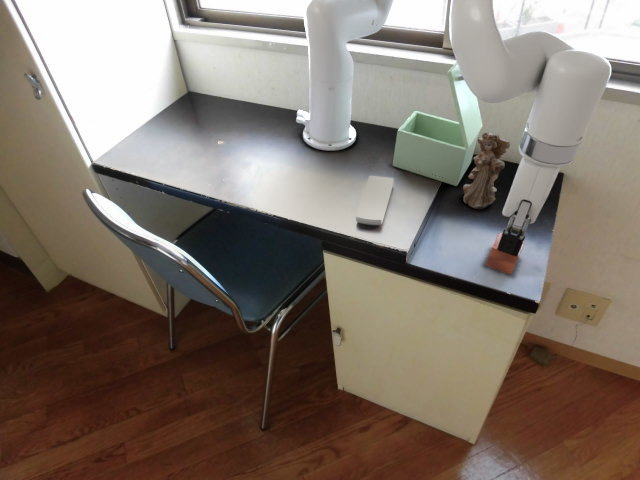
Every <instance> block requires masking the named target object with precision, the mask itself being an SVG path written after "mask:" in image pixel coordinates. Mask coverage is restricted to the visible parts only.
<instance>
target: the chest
mask: <svg viewBox="0 0 640 480" xmlns="http://www.w3.org/2000/svg"><path fill="white" fill-rule="evenodd" d="M479 134H480V131H479V132H478V134H477V136H476V137H475V139H474V140H473V142H472V144H471V145H470V147H469V148H465V147H464V143H463V138H462V134H461V130H460V125H459V121H455V120H451V119H448V118H444V117H441V116H437V115H433V114H429V113H426V112H422V111H418V110H414V111H413V112H412V114H411V115H410V116H409V117H408V118H407V119H406V120H405V121H404V123H402V125H401V126H400V127H399V128H398V129H397V132H396V137H395V138H396V139H395V145H394V153H393V159H392V167H395V168H398V169H401V170H405V171H407V172H410V173H414V174H417V175H420V176H423V177H426V178H429V179H433V180H436V181H438V182H442V183H446V184H449V185H451V186H454V187H457V186H458V185H459V183H460V182H461V180H462V179H463V177H464V175H465V174H466V172H467V170H468V168H469V166H470V165H471V163H472V161H473V156H474V154H475V153H474V152H475V148H476V145H477V143H478V140H477V138H478V137H479V136H480V135H479ZM416 169H417V170H416ZM419 170H420V171H419ZM432 174H433V175H432ZM435 175H436V176H435ZM439 176H440V177H439ZM442 177H443V178H442Z"/></svg>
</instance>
